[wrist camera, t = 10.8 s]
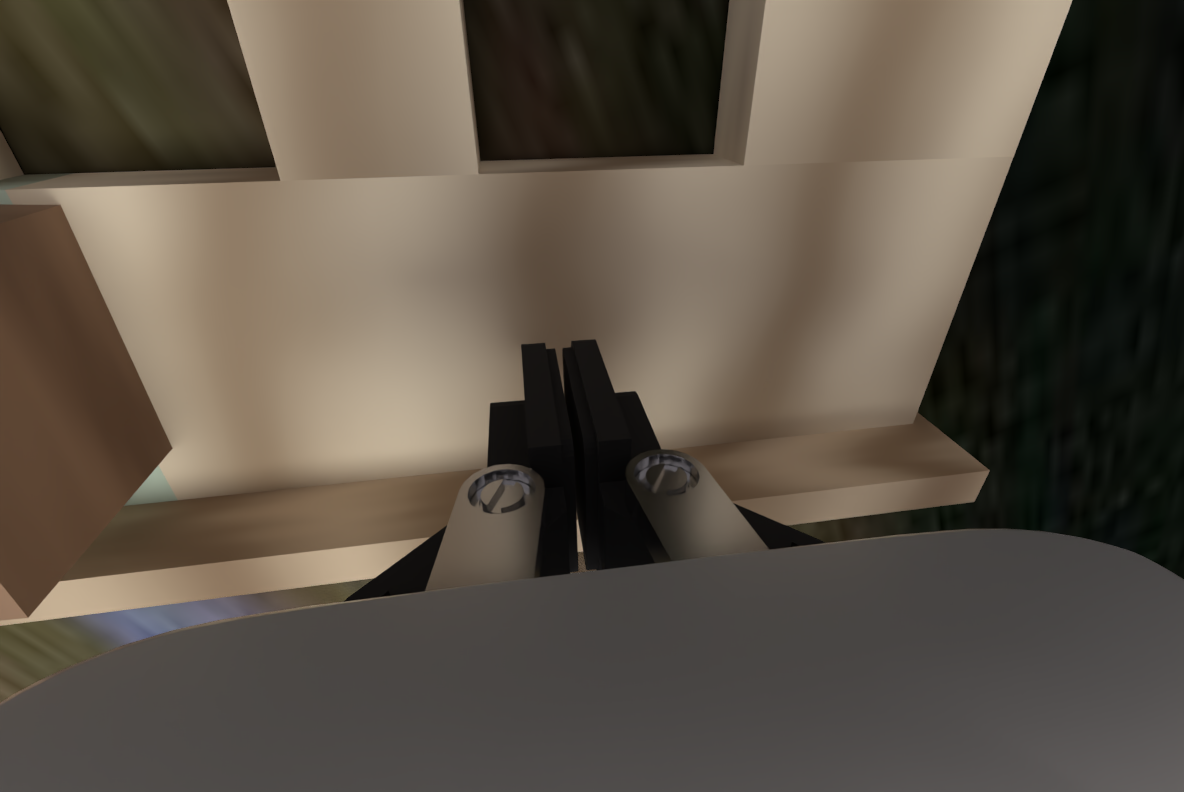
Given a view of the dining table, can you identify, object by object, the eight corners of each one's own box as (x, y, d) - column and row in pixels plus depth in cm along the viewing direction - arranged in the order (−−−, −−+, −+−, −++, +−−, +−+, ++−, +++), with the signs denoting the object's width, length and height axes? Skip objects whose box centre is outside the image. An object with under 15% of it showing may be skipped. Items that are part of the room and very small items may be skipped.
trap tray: (1074, -153, 12) (1353, -261, 8) (881, 418, 20) (974, 501, 16) (-682, -247, 8) (-1785, -544, 4) (-35, 511, 16) (-202, 651, 12)
